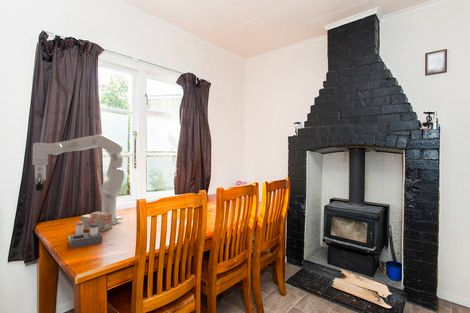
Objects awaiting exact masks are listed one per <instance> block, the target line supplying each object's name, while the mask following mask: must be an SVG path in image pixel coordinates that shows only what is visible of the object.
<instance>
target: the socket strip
mask: <svg viewBox="0 0 470 313" xmlns="http://www.w3.org/2000/svg"><path fill="white" fill-rule="evenodd" d="M86 233H87V234H80V235H76V234H73V235H74V236H70V235H69V236H70V241H69V245H70V249H73V248H75V249H76V248H80V247H87V246H92V245H93V246H94V245H98V244H103V234H102V233H101V231H98V236H92V237H90V232H86Z"/></svg>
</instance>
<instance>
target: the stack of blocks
mask: <svg viewBox="0 0 470 313" xmlns="http://www.w3.org/2000/svg"><path fill="white" fill-rule="evenodd" d="M80 221H84V230H86V231H87V230H88V231H90V224H94V223H97V224H98V232H105V231H109V230H112V226H113V225H112V213H108V212H102V211H94V212H90V213H89V214H88V213H87V214H84V215H80Z"/></svg>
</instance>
